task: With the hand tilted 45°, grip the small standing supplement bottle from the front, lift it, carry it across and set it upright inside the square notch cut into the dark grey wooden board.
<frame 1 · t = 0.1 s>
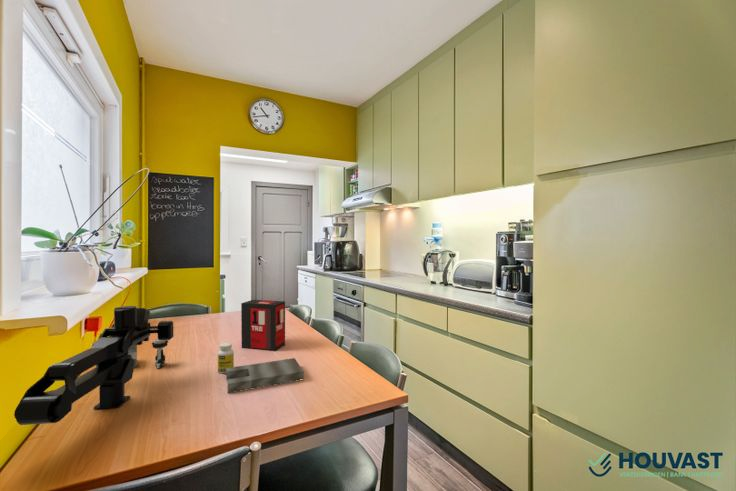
hand: (155, 325, 123), 17 cm above the table, tool horizontal, fingers open, 9 cm apart
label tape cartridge: (129, 365, 128), on the table
notched board: (264, 378, 116), on the table
supplement bottle: (225, 371, 122), on the table
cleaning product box: (263, 347, 150), on the table
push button: (159, 366, 127), on the table
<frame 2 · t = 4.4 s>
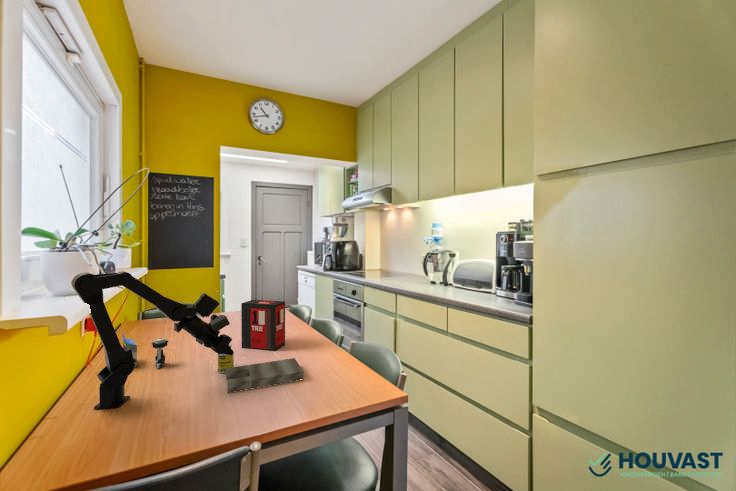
hand: (229, 352, 123), 7 cm above the table, tool tilted 45°, fingers closed on supplement bottle, 5 cm apart
supplement bottle: (225, 371, 122), on the table, touching gripper
everything else where it was.
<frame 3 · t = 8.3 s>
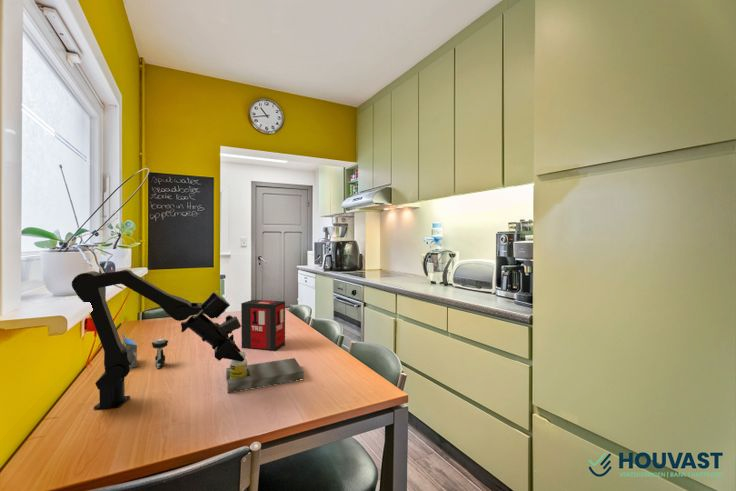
hand: (242, 357, 113), 8 cm above the table, tool tilted 45°, fingers open, 5 cm apart
supplement bottle: (238, 382, 113), on the table, touching gripper
everything else where it was.
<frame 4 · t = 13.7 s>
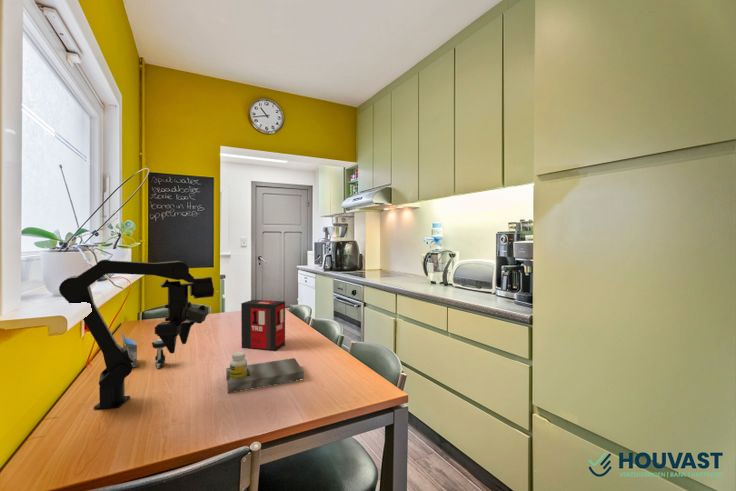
hand: (178, 348, 108), 13 cm above the table, tool pointing down, fingers open, 9 cm apart
supplement bottle: (238, 383, 113), on the table
everything else where it was.
at the end: supplement bottle 0.1 cm from the target spot, on the table; supplement bottle tilted 0°; the gripper is holding nothing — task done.
